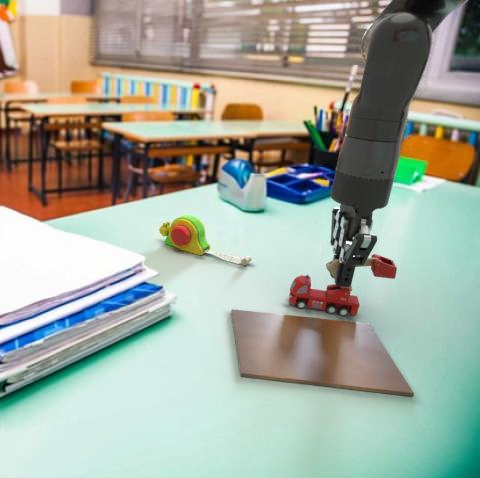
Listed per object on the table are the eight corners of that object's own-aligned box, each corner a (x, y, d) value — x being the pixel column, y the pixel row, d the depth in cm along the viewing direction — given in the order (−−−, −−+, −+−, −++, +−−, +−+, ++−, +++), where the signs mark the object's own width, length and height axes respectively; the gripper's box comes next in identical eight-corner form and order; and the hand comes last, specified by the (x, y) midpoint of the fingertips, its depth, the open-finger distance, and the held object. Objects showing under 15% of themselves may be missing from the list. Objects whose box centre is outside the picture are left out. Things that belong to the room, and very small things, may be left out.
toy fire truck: (287, 297, 80) (298, 242, 77) (379, 313, 76) (394, 256, 73) (287, 306, 77) (298, 249, 74) (383, 323, 74) (399, 264, 70)
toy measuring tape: (167, 235, 104) (169, 206, 102) (255, 260, 94) (260, 228, 92) (151, 244, 99) (153, 213, 97) (242, 271, 89) (247, 237, 87)
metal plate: (368, 326, 73) (369, 323, 72) (413, 396, 58) (414, 393, 58) (231, 311, 75) (231, 309, 75) (240, 376, 60) (241, 373, 60)
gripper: (414, 184, 62) (381, 306, 68) (376, 161, 75) (351, 265, 81) (352, 180, 63) (325, 300, 69) (325, 158, 75) (304, 261, 82)
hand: (339, 281), depth 75 cm, fingers closed on toy fire truck, 2 cm apart
